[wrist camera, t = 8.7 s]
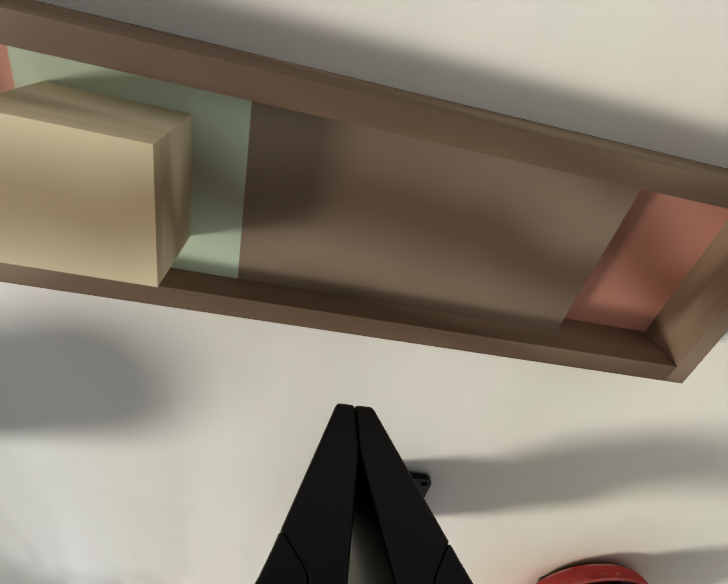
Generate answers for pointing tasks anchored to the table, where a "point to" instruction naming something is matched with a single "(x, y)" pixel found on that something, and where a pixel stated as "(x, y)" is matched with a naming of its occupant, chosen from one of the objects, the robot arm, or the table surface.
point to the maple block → (93, 183)
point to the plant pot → (594, 575)
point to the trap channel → (402, 208)
